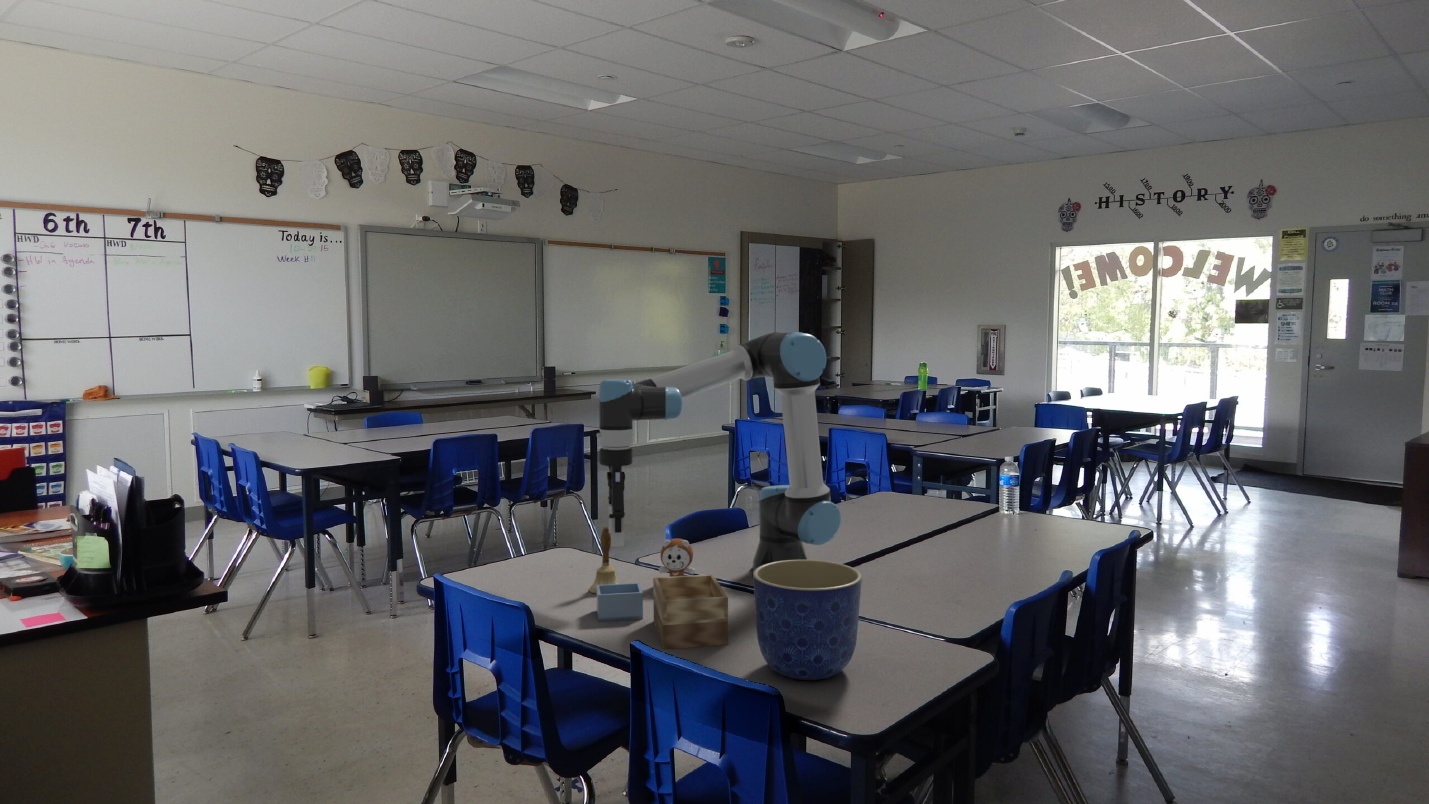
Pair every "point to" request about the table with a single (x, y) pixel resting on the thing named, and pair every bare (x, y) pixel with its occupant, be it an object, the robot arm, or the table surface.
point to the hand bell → (604, 564)
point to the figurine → (676, 557)
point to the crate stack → (690, 611)
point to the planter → (807, 616)
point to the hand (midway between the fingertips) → (616, 539)
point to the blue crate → (619, 602)
